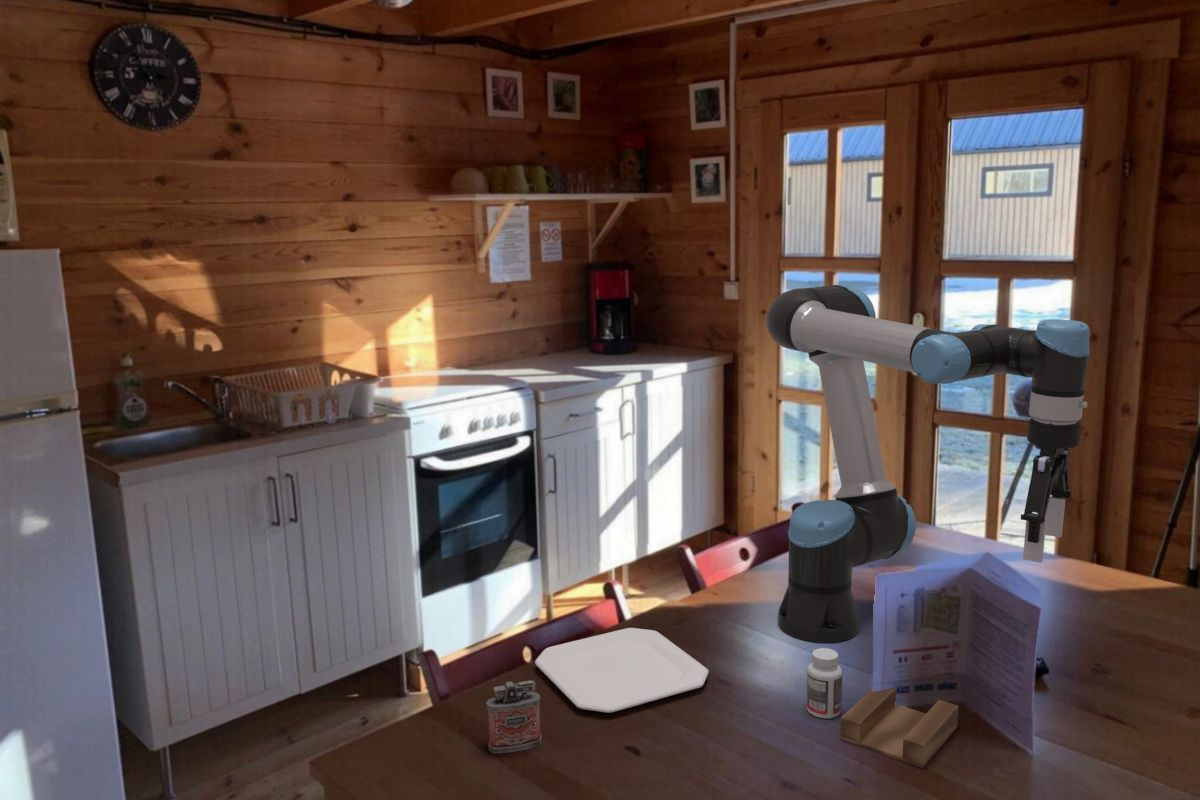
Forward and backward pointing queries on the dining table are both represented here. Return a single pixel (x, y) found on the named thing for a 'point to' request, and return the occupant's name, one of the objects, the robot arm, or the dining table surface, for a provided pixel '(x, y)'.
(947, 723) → the groove block
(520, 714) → the lighter
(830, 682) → the pill bottle
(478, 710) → the dining table surface
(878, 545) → the robot arm
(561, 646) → the plate
